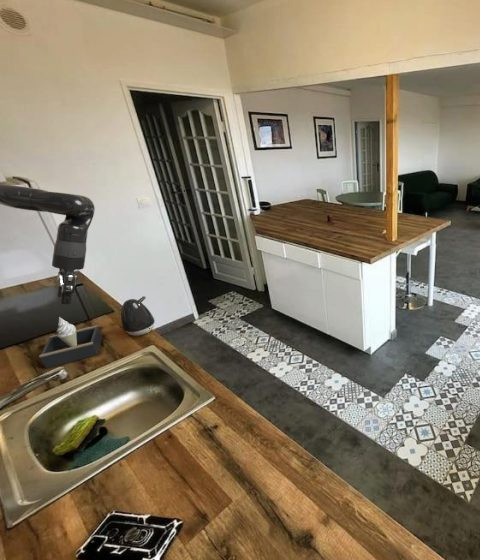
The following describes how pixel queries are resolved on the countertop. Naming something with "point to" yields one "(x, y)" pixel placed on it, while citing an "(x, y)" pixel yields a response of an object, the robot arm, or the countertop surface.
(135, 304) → the pump dispenser
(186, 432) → the countertop surface
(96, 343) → the basket
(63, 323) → the ice cream cone
